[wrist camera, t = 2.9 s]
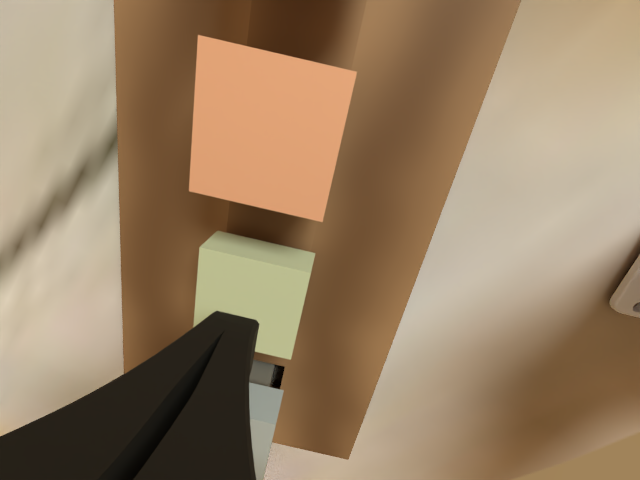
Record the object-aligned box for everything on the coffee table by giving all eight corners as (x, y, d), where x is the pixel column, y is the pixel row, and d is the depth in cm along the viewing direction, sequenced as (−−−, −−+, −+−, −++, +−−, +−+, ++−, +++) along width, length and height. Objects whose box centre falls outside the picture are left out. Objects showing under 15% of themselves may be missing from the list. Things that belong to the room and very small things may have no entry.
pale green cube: (320, 234, 14) (310, 273, 11) (303, 306, 16) (290, 359, 12) (234, 214, 14) (199, 247, 11) (225, 288, 16) (192, 337, 12)
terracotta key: (354, 82, 11) (357, 71, 8) (329, 191, 12) (322, 221, 9) (244, 57, 11) (197, 34, 8) (232, 168, 12) (188, 191, 9)
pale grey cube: (291, 356, 16) (275, 424, 12) (278, 412, 17) (261, 486, 14) (213, 338, 16) (176, 401, 12) (207, 396, 17) (172, 466, 14)
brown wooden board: (558, -167, 9) (609, -234, 8) (348, 425, 19) (348, 459, 17) (152, -262, 9) (104, -353, 8) (146, 379, 19) (124, 408, 17)
